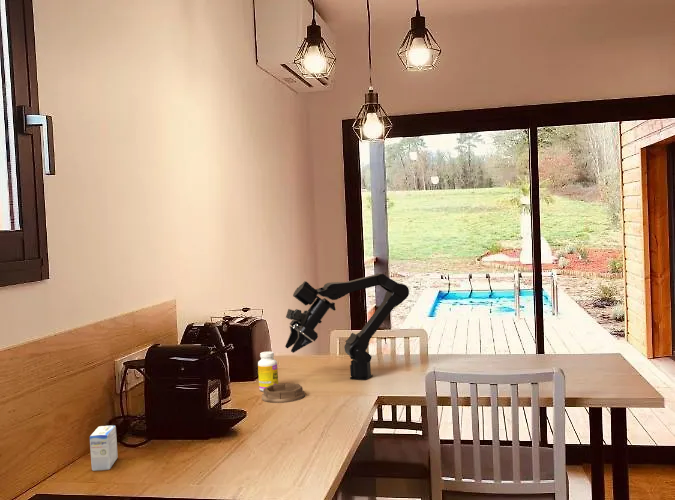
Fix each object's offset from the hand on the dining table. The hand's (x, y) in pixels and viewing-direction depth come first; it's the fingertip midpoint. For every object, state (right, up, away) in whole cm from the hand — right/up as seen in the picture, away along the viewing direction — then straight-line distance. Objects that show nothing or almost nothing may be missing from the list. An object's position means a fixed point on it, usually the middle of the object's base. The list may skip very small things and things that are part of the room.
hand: (289, 349), depth 234 cm
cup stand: (-1, -14, -13) cm, 19 cm away
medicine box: (-40, -19, -68) cm, 81 cm away
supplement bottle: (-7, -14, -2) cm, 15 cm away
